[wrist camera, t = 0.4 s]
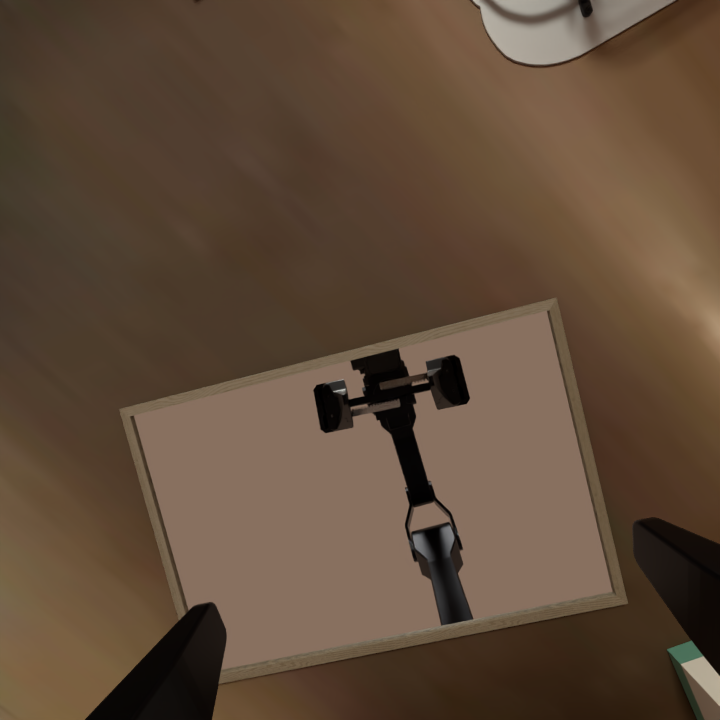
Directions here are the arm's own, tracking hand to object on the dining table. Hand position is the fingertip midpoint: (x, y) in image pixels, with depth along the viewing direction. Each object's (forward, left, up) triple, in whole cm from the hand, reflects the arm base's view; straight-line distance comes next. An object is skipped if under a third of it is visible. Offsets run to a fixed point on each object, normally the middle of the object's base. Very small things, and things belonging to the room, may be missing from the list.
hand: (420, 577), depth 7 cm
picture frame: (-5, 0, -16) cm, 16 cm away
